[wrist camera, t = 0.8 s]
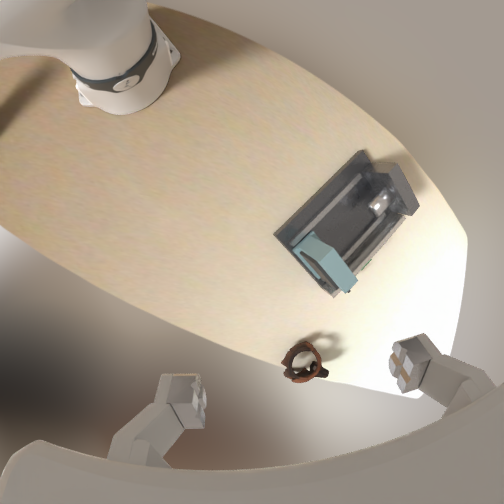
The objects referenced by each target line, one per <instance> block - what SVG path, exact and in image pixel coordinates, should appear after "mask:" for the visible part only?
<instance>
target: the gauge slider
mask: <svg viewBox="0 0 504 504" xmlns="http://www.w3.org/2000/svg"><path fill="white" fill-rule="evenodd" d="M293 251H294V253H295V254H296V255H297V256H298V257H299V258H300V259H301V260H302V262H303V263H304V264H305V265H306V266H307V267H308V268H309V269H310V271H311V272H312V273H313V274H314V275H315V276H316V277H317V278H318V279H320V278H322V279H323V280H324V281H326V282H327V283H328V284H329V285H331V286H332V287H333V288H334V289H336V290H338V289H341V290H342V291H343V292H344V293H347V292H348V293H349V292H350V289H351V288H352V286H353V285H354V284H355V283H356V282H357V281H358V280H357V278H356V277H355V276H354V274H353V273H352V272H351V270H350V269H349V268H348V266H347V265H346V264H345V262H344V261H343V260H342V258H341V257H340V256H339V254H338V253H337V252H336V251H335V249H334V248H333V247H331V246H329V245H327V244H325V243H323V242H322V241H321V240H320V239H319V237H318V236H317V235H316V234H315V233H314V231H311V232H310V233H309V234H308V235H307V236H306V237H305V238H304V239H303V240H302V241H301V242H300V243H299V244H298V245H297V246H296V247H295V248H294V249H293Z"/></svg>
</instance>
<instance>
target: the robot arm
mask: <svg viewBox="0 0 504 504" xmlns="http://www.w3.org/2000/svg"><path fill="white" fill-rule="evenodd" d="M170 51H172V53H170ZM30 55H40V56H50V57H55V58H57V59H59V60H61V61H62V62H64V63H65V64H66V65H68V66H69V67H70V69H71V71H72V73H73V78H74V79H76V81H77V84H76V88H77V90H78V91H79V101H80V103H81V104H82V105H83V106H86V107H98V108H100V109H102V110H104V111H106V112H108V113H111V114H117V115H124V114H130V113H134V112H137V111H140V110H142V109H144V108H145V107H147V106H149V105H150V104H151V103H153V102H154V101H155V100H156V99H157V98H158V97H159V96H160V95H161V93H162V92H163V91H164V89H165V87H166V85H167V83H168V80H169V76H170V73H171V71H172V69H173V68H174V67H175V65H176V64H177V63H178V62H179V60H180V57H181V56H180V53H179V51H178V50H177V49H176V48H175V46H174V45H173V44H172V42H171V41H170V40H169V39H168V38H167V36H166V35H165V34H164V33H163V31H162V30H161V29H160V28H159V26H158V25H157V24H156V23H155V22H154V20H153V19H152V18H151V17H150V16H149V12H148V7H147V2H146V0H0V60H1V59H5V58H10V57H16V56H30ZM392 350H393V351H394V352H393V354H392V355H391V356H390V359H389V368H390V372H391V374H392V376H394V377H396V378H398V380H397V385H398V386H399V388H400V390H401V392H402V394H403V393H406V392H409V391H412V390H415V389H418V388H419V390H421V391H422V392H424V393H425V394H427V395H428V396H430V397H431V398H433V399H434V400H436V401H437V402H439V403H440V404H442V405H444V406H445V407H447V409H446V411H445V412H444V414H443V415H442V419H440V420H438V421H436V422H434V423H432V424H429V425H427V426H425V427H423V428H421V429H418V430H416V431H413V432H411V433H408V434H406V435H403V436H401V437H398V438H395V439H392V440H390V441H387V442H384V443H381V444H378V445H375V446H371V447H368V448H365V449H361V450H358V451H355V452H351V453H347V454H343V455H339V456H335V457H330V458H326V459H321V460H316V461H311V462H305V463H300V464H293V465H286V466H279V467H270V468H259V469H246V470H215V471H213V470H211V471H210V470H181V469H172V468H171V467H170V466H169V465H168V464H167V462H166V461H165V460H164V459H163V458H162V457H163V456H164V455H165V453H166V452H167V451H168V450H169V449H170V447H171V446H172V445H173V444H174V442H175V441H176V440H177V439H178V437H179V436H180V435H181V433H182V432H183V431H184V429H196V428H204V425H205V414H204V412H203V410H204V409H205V408H206V393H205V389H204V386H202V385H201V378H200V376H199V374H163V375H162V376H161V378H160V381H159V385H158V389H157V392H156V396H155V400H154V403H150V404H149V405H148V406H147V407H146V408H145V409H143V410H142V411H141V412H140V413H139V414H138V415H137V416H136V417H135V418H134V419H132V420H131V421H130V422H129V423H128V424H126V425H125V426H124V427H123V428H122V429H121V430H119V431H118V432H117V433H116V434H115V435H114V437H113V440H112V443H111V447H110V450H109V453H108V457H107V459H103V458H99V457H94V456H91V455H87V454H83V453H79V452H76V451H73V450H69V449H66V448H62V447H60V446H57V445H54V444H51V443H48V442H45V441H42V440H37V441H34V442H32V443H30V444H28V445H27V446H25V447H24V448H22V449H20V450H19V451H17V452H16V453H14V454H13V455H12V457H11V458H10V460H9V461H8V463H7V464H6V467H5V468H4V471H3V473H2V475H1V477H0V504H504V383H502V384H501V385H499V386H498V387H496V386H495V384H494V383H493V382H492V381H491V379H490V378H489V377H488V376H487V374H486V373H485V372H484V370H481V369H479V368H477V367H474V366H472V365H469V364H467V363H465V362H462V361H460V360H457V359H455V358H452V357H450V356H448V355H445V354H444V355H442V354H441V353H440V351H439V350H438V349H437V348H436V346H435V345H434V344H433V343H432V341H431V340H430V339H429V338H428V336H427V335H426V334H424V333H423V334H420V335H416V336H414V337H410V338H407V339H403V340H400V341H397V342H395V343H394V344H393V347H392Z"/></svg>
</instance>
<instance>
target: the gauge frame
mask: <svg viewBox="0 0 504 504" xmlns="http://www.w3.org/2000/svg"><path fill="white" fill-rule="evenodd" d="M419 206H420V205H419V203H418V201H417V199H416V197H415V195H414V193H413V191H412V189H411V187H410V185H409V183H408V181H407V179H406V178H405V176H404V174H403V172H402V170H401V169H400V167H399V165H398V163H371V162H370V161H369V159H368V158H367V156H366V155H365V153H364V152H363V150H362V151H358V152H357V153H356V154H355V155H354V156H353V157H352V158H351V159H350V160H349V161H348V162H347V163H346V164H344V165H343V166H342V167H341V168H340V169H339V170H338V171H337V172H336V173H335V174H334V175H333V176H332V177H331V178H330V179H329V180H328V181H327V182H326V183H325V184H324V185H323V186H322V187H321V188H320V189H319V190H318V191H317V192H316V193H315V194H314V195H313V196H312V197H311V198H310V199H309V200H308V201H307V202H306V203H305V204H304V205H303V206H302V207H301V208H300V209H299V210H298V211H297V212H296V213H294V214H293V215H292V216H291V217H290V218H289V219H288V220H287V221H286V222H285V223H284V224H283V225H282V226H281V227H280V228H279V229H278V230H277V231H276V232H275V233H274V234H273V235H274V236H275V237H276V238H277V239H278V240H279V241H280V243H281V244H282V245H283V246H284V247H285V248H286V249H287V250H288V251H289V252H290V253H291V255H292V256H293V257H294V258H295V259H296V260H297V261H298V262H299V263H300V265H301V266H302V267H303V268H304V269H305V270H306V271H307V272H308V273H309V274H310V276H311V277H312V278H313V279H314V280H315V281H316V282H317V283H318V285H319V286H320V287H321V288H322V289H323V290H324V291H325V292H327V293H328V294H329V295H330V296H332V297H333V298H334V297H335V296H336V295H337V294H338V293H339V292H340V291H341V289H338V290H336V289H334V288H333V287H332V286H331V285H329V284H328V283H327V282H326V281H324V280H323V279H322V278H320V279H318V278H317V277H316V276H315V275H314V274H313V273H312V272H311V271H310V269H309V268H308V267H307V266H306V265H305V264H304V263H303V262H302V260H301V259H300V258H299V257H298V256H297V255H296V254H295V253H294V251H293V249H294V248H295V247H296V246H297V245H298V244H299V243H300V242H301V241H302V240H303V239H304V238H305V237H306V236H307V235H308V234H309V233H310V232H311V231H314V233H315V234H316V235H317V236H318V237H319V239H320V240H321V241H322V242H323V243H325V244H327V245H329V246H331V247H333V248H334V249H335V251H336V252H337V253H338V254H339V256H340V257H341V258H342V260H343V261H344V262H345V264H346V265H347V266H348V268H349V269H350V270H351V272H352V273H353V274H354V276H356V275H357V274H358V272H359V271H360V270H362V269H363V268H364V267H365V266H366V265H367V264H368V263H369V262H370V261H371V260H372V259H371V258H372V257H373V256H374V255H375V254H376V253H377V252H378V251H379V249H380V248H381V247H382V246H383V245H384V244H385V243H386V241H387V240H388V239H389V238H390V237H391V236H392V234H393V233H394V232H395V231H396V230H397V229H398V227H399V226H400V225H401V224H402V222H403V221H404V220H405V219H406V218H405V216H404V215H402V214H405V215H409V216H412V215H413V214H414V213H415V211H416V210H417V209H418V208H419ZM398 213H401V214H398Z"/></svg>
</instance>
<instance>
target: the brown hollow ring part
mask: <svg viewBox="0 0 504 504" xmlns="http://www.w3.org/2000/svg"><path fill="white" fill-rule="evenodd" d="M303 351H312V352H313V354H314V355H315V356H316V358H317V362H315V361H313V362H312V364H311V365H310V371H308V370H307V369H306V368H304V369H303V370H302V371H300V372H299V373H297V374H295V373H294V371H293V369H292V362H293V359H294V357H295V356H296V355H297V354H299V353H300V352H303ZM281 363H282V364H283V365H284V366H286V367H287V369H286V370H285V372H284V376H285V377H287V378H290V379H292V382H295V383H303V382H307V381H309V380H310V379H312V378H314V377H320V378H326V377H328V374H329V371H328V370H327V369H325V368H323V367H322V365H321V357H320V354H319V353H318V352H317V351H316V349H315V348H313V345H312V344H310V343H308V342H302V343H299V344H297V345H295V346H294V347H292V348H291V349H290V351H288V352H287V354H286V356H285V358H284V360H283V361H282V362H281Z"/></svg>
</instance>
